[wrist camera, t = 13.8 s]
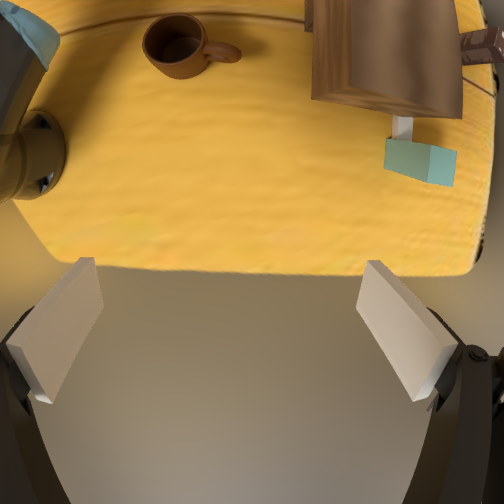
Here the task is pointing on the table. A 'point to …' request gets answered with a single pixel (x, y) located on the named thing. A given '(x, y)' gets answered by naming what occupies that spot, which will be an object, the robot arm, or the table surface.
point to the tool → (418, 156)
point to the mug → (183, 46)
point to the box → (482, 46)
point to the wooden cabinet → (387, 55)
